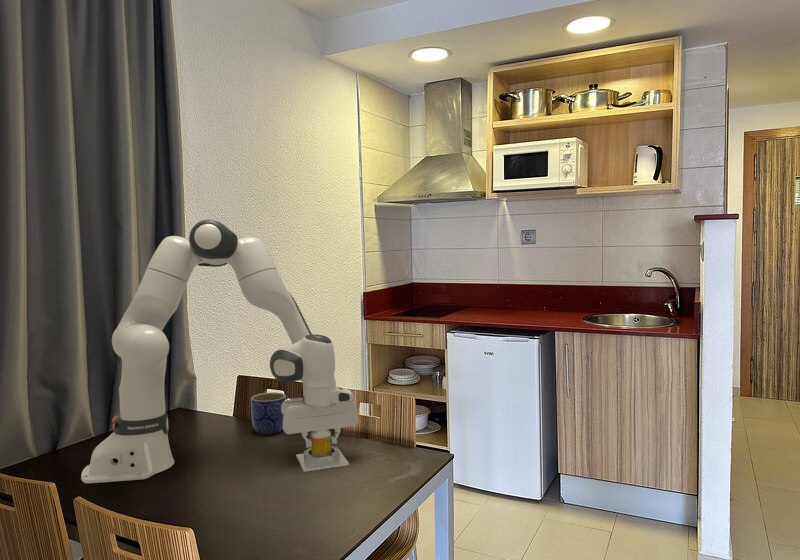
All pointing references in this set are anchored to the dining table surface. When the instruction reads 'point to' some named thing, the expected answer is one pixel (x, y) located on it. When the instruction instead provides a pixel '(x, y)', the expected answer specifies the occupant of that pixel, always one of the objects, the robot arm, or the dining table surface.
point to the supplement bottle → (321, 442)
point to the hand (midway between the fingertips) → (321, 445)
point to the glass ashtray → (321, 460)
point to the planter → (267, 412)
